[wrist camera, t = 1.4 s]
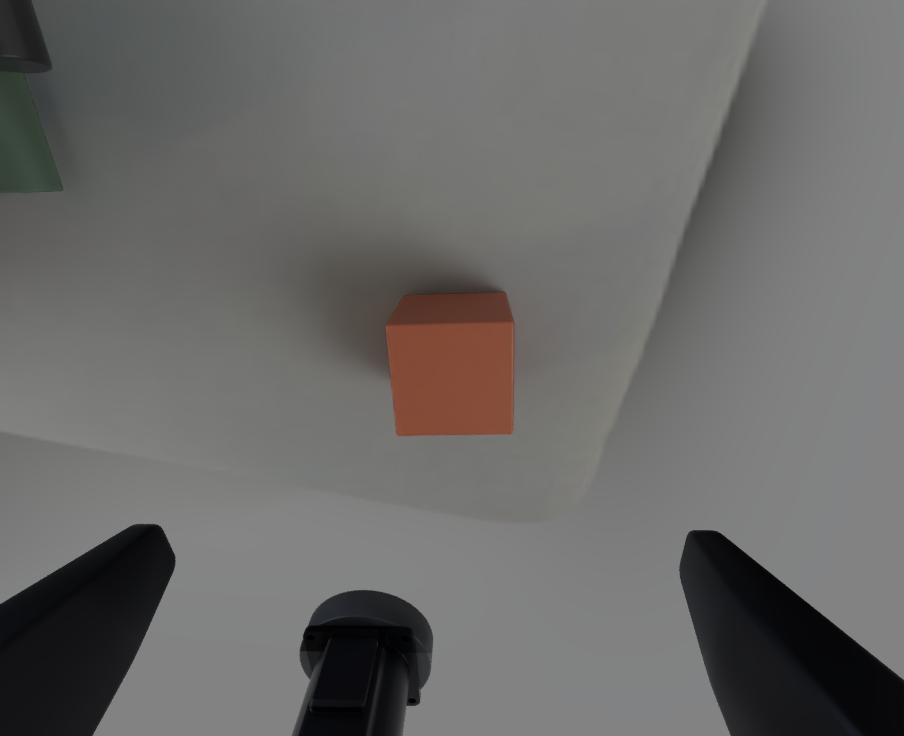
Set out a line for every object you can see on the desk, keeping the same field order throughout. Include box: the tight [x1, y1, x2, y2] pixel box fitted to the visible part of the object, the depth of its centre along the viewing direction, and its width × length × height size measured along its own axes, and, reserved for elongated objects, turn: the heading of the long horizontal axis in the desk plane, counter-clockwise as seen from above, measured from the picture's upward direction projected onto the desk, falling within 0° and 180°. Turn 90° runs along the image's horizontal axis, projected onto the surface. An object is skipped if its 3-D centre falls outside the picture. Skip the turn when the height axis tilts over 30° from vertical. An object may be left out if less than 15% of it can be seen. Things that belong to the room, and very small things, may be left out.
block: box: [385, 292, 514, 436], centre depth 17 cm, size 4×4×4 cm
